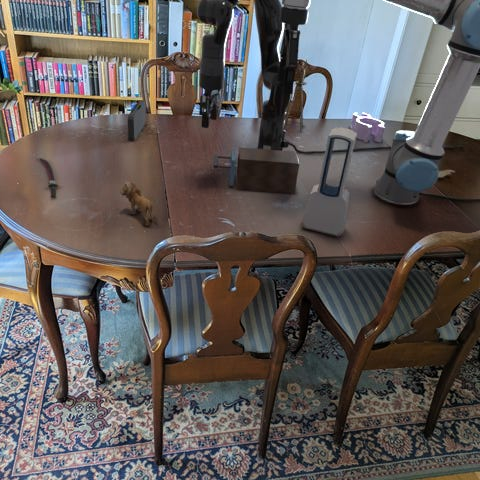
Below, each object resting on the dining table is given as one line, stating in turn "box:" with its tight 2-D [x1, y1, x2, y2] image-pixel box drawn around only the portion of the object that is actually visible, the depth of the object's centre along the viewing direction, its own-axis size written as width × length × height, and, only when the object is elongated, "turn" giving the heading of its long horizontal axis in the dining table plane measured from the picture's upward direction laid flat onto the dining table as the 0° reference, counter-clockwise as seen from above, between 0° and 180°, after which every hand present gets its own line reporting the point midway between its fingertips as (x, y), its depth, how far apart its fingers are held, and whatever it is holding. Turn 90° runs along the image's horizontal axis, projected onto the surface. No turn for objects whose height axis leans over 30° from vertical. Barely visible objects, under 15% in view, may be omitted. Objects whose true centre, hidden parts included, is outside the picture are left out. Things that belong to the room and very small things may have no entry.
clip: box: [349, 112, 386, 143], centre depth 214 cm, size 20×12×7 cm, turn 11°
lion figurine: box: [119, 181, 159, 227], centre depth 134 cm, size 15×5×9 cm, turn 50°
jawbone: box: [438, 169, 456, 179], centre depth 185 cm, size 9×20×2 cm, turn 50°
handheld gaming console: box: [127, 99, 147, 141], centre depth 190 cm, size 23×3×10 cm, turn 178°
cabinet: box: [235, 147, 300, 194], centre depth 159 cm, size 20×10×11 cm, turn 91°
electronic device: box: [300, 127, 357, 237], centre depth 132 cm, size 12×8×30 cm, turn 71°
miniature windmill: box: [284, 59, 308, 132], centre depth 206 cm, size 9×8×30 cm
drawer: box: [213, 149, 239, 187], centre depth 158 cm, size 24×9×9 cm, turn 91°
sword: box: [40, 158, 59, 198], centre depth 151 cm, size 31×3×1 cm, turn 26°
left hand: (209, 123), depth 151 cm, fingers open, 8 cm apart
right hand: (284, 87), depth 137 cm, fingers open, 13 cm apart
